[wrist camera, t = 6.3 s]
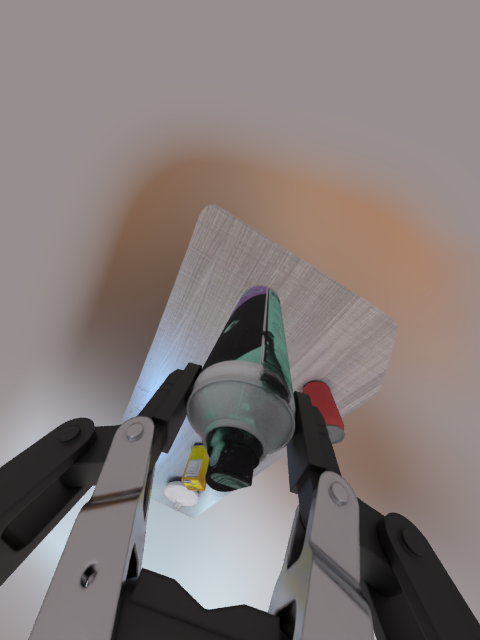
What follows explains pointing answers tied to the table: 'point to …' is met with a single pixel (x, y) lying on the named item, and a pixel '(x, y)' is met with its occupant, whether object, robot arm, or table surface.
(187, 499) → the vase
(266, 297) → the spray can
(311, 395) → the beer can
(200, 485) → the supplement box
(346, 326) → the table surface
